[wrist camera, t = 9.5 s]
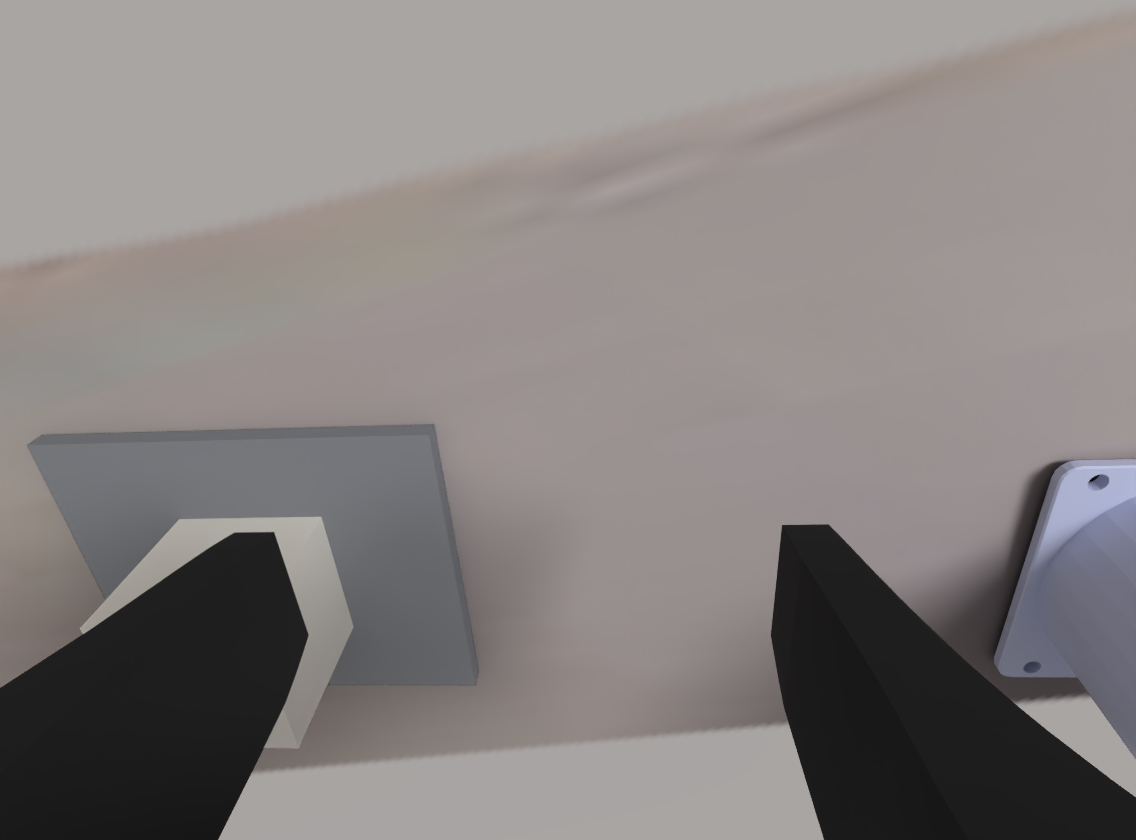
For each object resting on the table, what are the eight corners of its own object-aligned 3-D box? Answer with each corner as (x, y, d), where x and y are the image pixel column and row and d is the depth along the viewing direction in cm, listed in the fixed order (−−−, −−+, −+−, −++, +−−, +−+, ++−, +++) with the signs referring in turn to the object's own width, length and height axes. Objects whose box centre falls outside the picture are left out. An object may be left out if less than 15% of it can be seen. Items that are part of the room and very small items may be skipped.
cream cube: (321, 516, 21) (252, 627, 17) (353, 626, 23) (299, 748, 19) (179, 519, 21) (79, 628, 17) (224, 627, 23) (144, 746, 19)
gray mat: (434, 424, 20) (428, 434, 19) (478, 671, 24) (475, 685, 24) (41, 435, 21) (26, 445, 20) (157, 670, 26) (148, 683, 25)
